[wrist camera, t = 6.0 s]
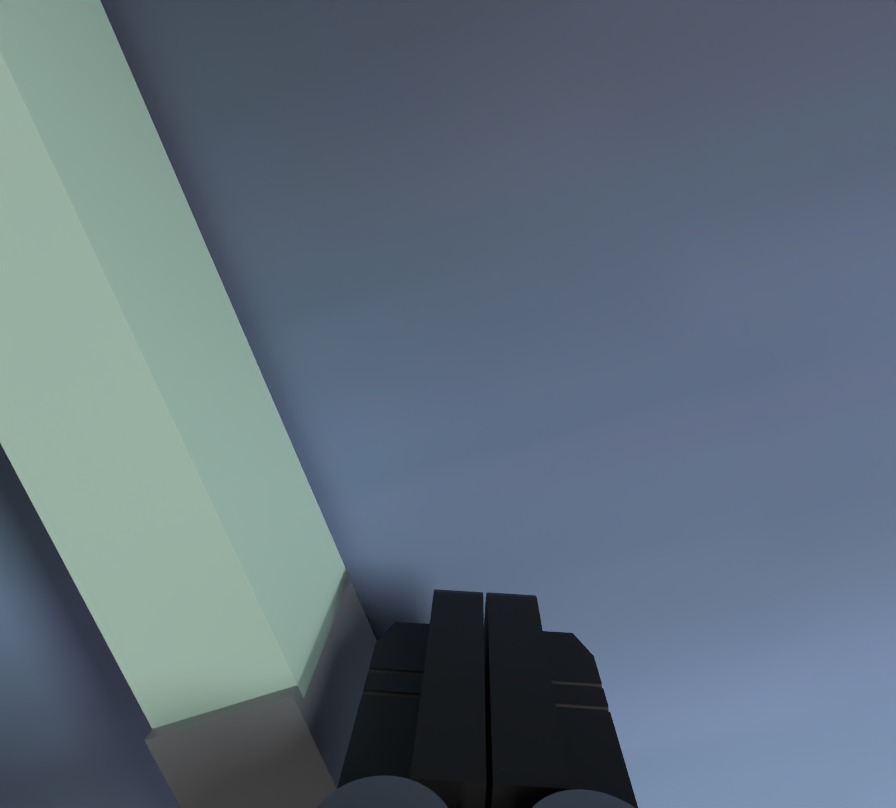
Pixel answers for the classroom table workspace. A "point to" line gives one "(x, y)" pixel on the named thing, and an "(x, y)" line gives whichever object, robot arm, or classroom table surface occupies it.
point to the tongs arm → (161, 436)
